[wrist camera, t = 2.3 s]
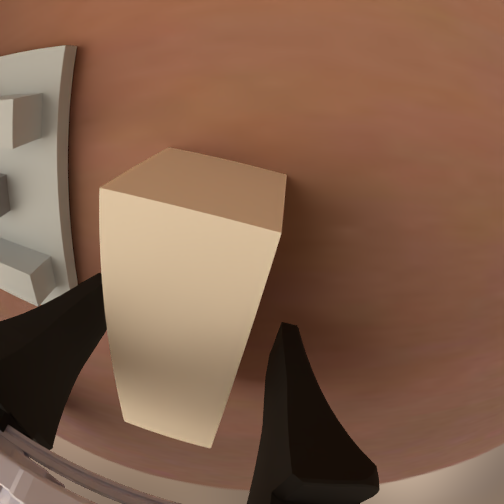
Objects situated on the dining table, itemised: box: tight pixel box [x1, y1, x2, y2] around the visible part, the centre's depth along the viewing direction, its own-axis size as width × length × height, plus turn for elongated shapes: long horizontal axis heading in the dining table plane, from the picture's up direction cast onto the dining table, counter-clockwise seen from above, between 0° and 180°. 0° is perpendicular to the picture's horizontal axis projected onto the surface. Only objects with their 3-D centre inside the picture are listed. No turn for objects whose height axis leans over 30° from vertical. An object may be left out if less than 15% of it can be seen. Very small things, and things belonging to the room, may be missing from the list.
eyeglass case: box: [99, 147, 287, 448], centre depth 12 cm, size 12×4×5 cm, turn 168°
